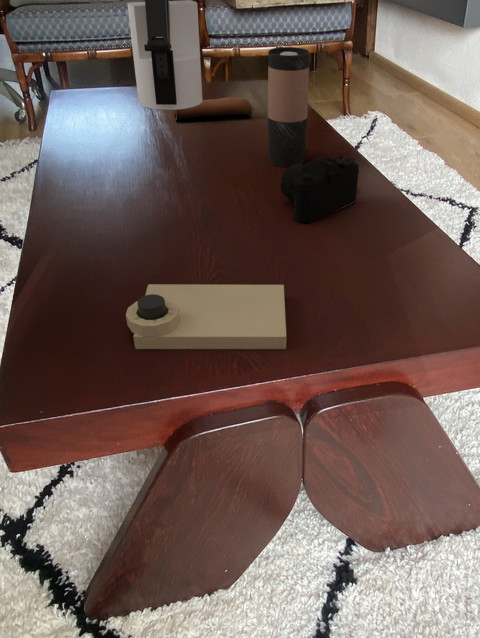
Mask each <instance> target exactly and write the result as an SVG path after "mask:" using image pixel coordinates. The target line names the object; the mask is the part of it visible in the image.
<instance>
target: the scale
mask: <svg viewBox="0 0 480 638" xmlns="http://www.w3.org/2000/svg"><path fill="white" fill-rule="evenodd" d="M151 294H155V295H160V296H162V297H163V298H164V299H165V306H166V315H165V316H164V317H163V318H160V319H156V320H145V319H142V318H141V317H140V316H139V310H138V304H137V302H138V300H137V301H134V303H133V304H131V305H130V306H128V307H127V310H126V313H125V319H126V325H127V327H128V328H129V330H130V332H132V333H133V343H134V348H135V350H286V349H287V321H286V318H287V317H286V302H285V301H286V300H285V299H286V298H285V284H198V283H197V284H190V283H189V284H185V283H183V284H181V283H180V284H179V283H178V284H175V283H174V284H171V283H169V284H168V283H167V284H164V283H163V284H161V283H159V284H155V283H151V284H149V283H148V285H147V288H146V291H145V295H144V296H146V295H151Z"/></svg>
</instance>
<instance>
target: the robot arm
mask: <svg viewBox="0 0 480 638" xmlns="http://www.w3.org/2000/svg"><path fill="white" fill-rule="evenodd" d="M169 1H178V0H144V2H145V7H146V22H147V36H148V41H147V44H144V48H145V51H151V57H152V67H153V78H154V88H155V98H156V105H176V104H177V99H176V87H175V74H174V61H173V50H171V43H170V12H169ZM156 37H163V38H156Z"/></svg>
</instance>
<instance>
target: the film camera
mask: <svg viewBox="0 0 480 638" xmlns="http://www.w3.org/2000/svg"><path fill="white" fill-rule="evenodd" d="M359 171H360V167H359V163H357V162H356V161H355V159H354V158H353V157H345V158H343V156H342V155H339V156H338V157H337V158H336V159H334V158H331V157H327V158H325V157H323V156H321V155H320V156H318V157H315V158H313V159H311V160H310V161H308V162H307V163H305V164H304V165H303V164H301V165H297V164H295V165H291V166H290V167H287V168H286V169H285V171H283V174H282V176H281V182H280V191H281V193H282V195H283V196H284V197H286V198H287V199H288V200H289V201H291V202H293V214H292V217H293V220H294V221H295V222H296V223H299V224H310V223H313V222H315V221H317V220H320V219H322V218H324V216H325V217H327V216H329V215H331V214H330V213H332V212H334V211H336V210H338V209H340V208H342V207H344V206H346V205H349V204H350V203H352V202H354V201H355V200H356V201H357V193H358V181H359V173H360V172H359ZM356 201H355V202H356ZM349 206H350V205H349ZM336 212H337V211H336ZM334 213H335V212H334ZM328 214H329V215H328ZM332 214H333V213H332ZM326 215H327V216H326Z"/></svg>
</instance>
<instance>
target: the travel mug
mask: <svg viewBox="0 0 480 638" xmlns="http://www.w3.org/2000/svg"><path fill="white" fill-rule="evenodd" d="M267 67H268V69H267V71H268V73H267V77H268V79H267V86H268V87H267V89H268V90H267V92H268V93H267V132H268V133H267V135H268V137H267V138H268V160H269V164H271V165H273V166H276V167H281V168H289V167H290V166H291V165H295V164H297V165H300V164H301V163H303V162H304V163H305V154H306V143H307V128H308V109H309V106H308V105H309V80H310V77H309V76H310V50H308V49H306V48H303V47H295V46H294V47H293V46H280V47H273V48H271V49H269V50H268V66H267ZM304 163H303V164H304ZM301 165H302V164H301Z"/></svg>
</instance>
